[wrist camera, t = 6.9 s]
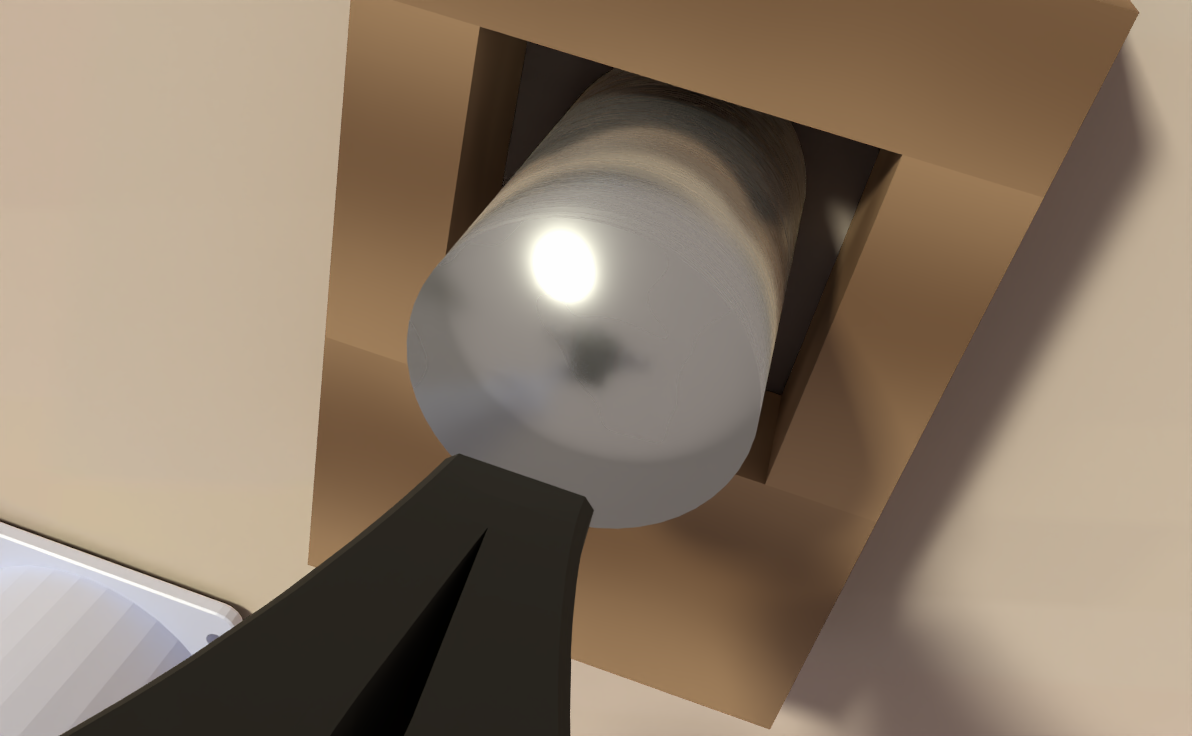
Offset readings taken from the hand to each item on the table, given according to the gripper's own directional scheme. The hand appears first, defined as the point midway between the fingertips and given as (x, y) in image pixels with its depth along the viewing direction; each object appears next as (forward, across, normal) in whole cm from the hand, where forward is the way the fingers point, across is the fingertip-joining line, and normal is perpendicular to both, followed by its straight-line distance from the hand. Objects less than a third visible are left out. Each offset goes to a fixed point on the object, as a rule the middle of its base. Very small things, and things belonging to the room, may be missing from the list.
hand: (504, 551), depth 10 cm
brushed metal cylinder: (+8, 0, 0) cm, 8 cm away
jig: (+8, 0, +2) cm, 9 cm away
